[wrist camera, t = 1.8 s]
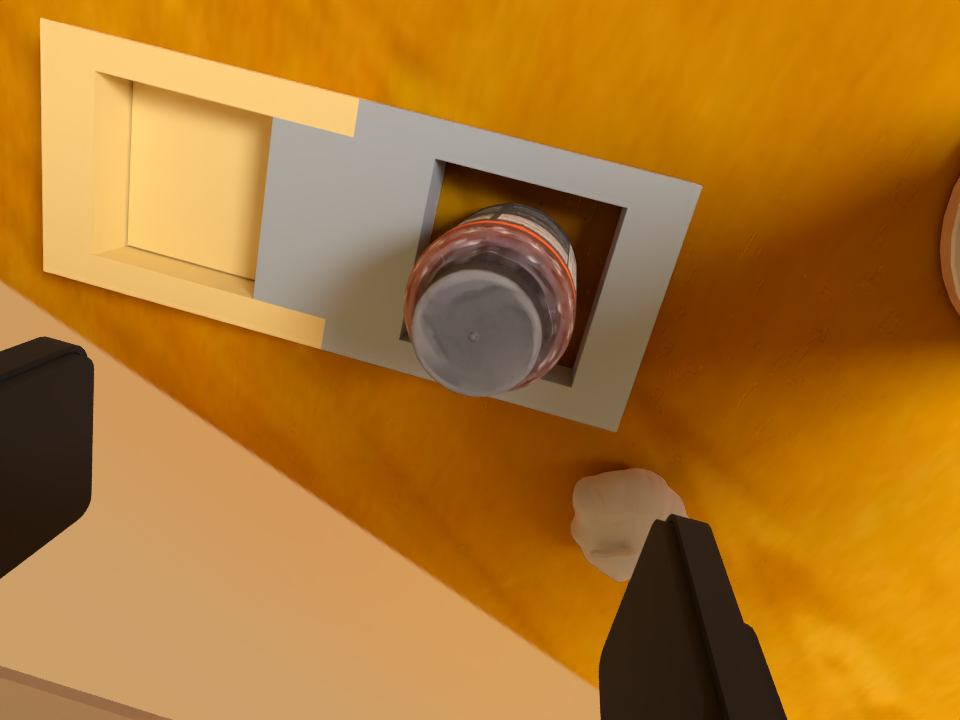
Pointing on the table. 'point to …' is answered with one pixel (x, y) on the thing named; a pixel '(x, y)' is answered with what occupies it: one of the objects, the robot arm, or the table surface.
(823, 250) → the table surface
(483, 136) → the beige and grey tray
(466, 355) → the supplement bottle
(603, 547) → the garlic
